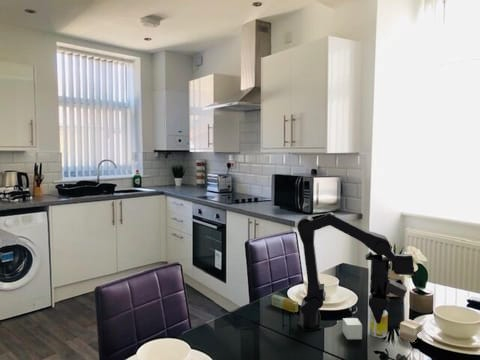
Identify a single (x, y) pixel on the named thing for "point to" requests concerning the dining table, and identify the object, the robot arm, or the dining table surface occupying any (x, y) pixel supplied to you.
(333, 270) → the dining table surface
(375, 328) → the supplement bottle
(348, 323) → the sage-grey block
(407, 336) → the birch block
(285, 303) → the medication box
